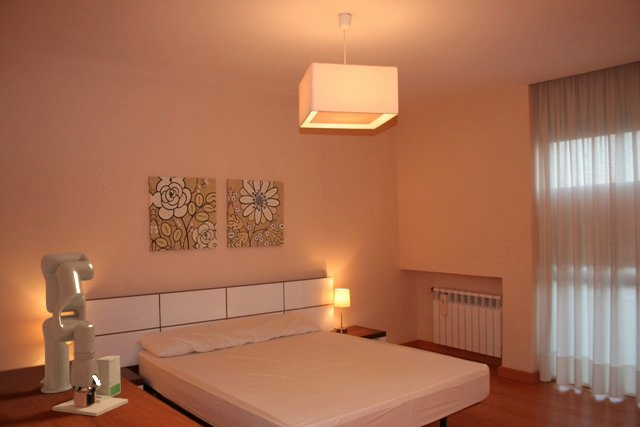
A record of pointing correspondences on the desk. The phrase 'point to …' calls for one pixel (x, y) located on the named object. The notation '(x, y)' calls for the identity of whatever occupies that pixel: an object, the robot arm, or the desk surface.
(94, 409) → the ticket board
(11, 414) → the desk surface
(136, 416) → the desk surface
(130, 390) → the desk surface
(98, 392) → the skincare box
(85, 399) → the stub
